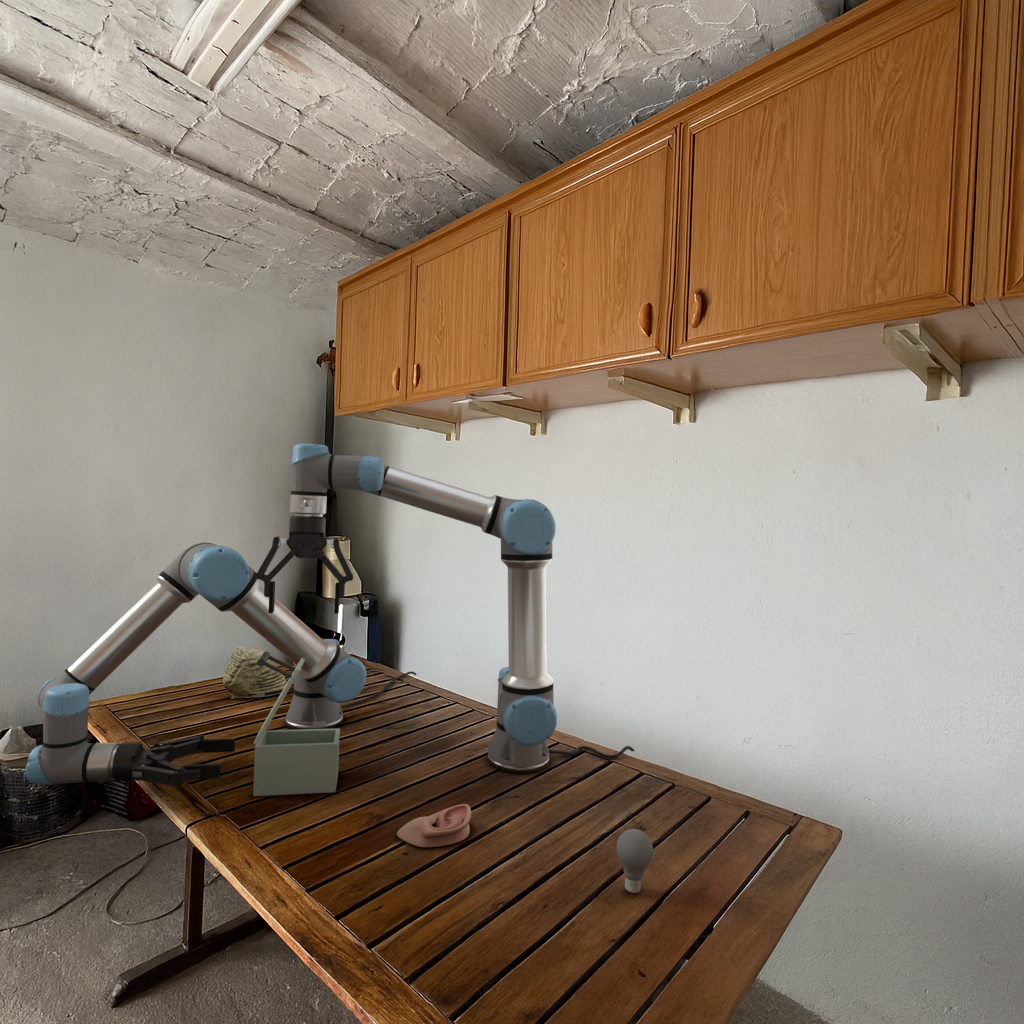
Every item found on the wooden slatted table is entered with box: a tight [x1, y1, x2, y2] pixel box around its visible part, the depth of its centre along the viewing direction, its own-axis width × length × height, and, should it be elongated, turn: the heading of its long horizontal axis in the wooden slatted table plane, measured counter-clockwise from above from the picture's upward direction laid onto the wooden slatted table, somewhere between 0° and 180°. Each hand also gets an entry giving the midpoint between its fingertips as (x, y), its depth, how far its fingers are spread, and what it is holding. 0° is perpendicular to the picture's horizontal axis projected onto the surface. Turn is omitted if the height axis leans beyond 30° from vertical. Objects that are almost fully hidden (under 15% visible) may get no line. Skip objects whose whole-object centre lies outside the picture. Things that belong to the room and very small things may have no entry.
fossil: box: [222, 646, 287, 699], centre depth 198 cm, size 9×18×15 cm, turn 132°
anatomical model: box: [396, 803, 472, 848], centre depth 121 cm, size 13×4×12 cm
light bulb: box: [615, 828, 654, 894], centre depth 106 cm, size 6×6×10 cm
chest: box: [252, 727, 341, 797], centre depth 139 cm, size 17×9×10 cm, turn 102°
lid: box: [253, 651, 305, 746], centre depth 137 cm, size 18×9×9 cm
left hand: (227, 757), depth 135 cm, fingers open, 13 cm apart
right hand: (304, 612), depth 138 cm, fingers open, 13 cm apart
